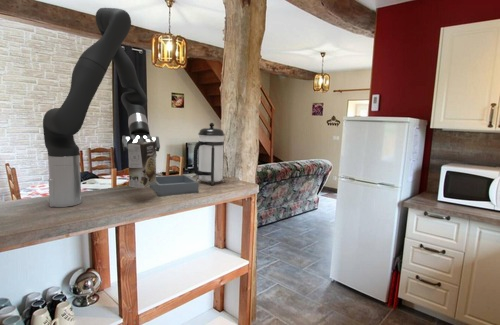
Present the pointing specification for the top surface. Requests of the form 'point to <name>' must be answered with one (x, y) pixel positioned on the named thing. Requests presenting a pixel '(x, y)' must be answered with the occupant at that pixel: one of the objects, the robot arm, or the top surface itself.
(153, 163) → the coffee box
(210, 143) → the coffee press
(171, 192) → the tray
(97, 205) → the top surface
